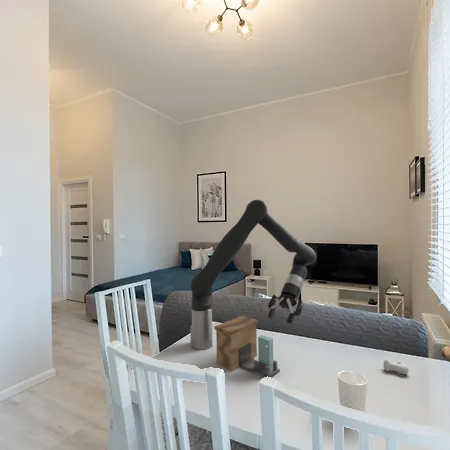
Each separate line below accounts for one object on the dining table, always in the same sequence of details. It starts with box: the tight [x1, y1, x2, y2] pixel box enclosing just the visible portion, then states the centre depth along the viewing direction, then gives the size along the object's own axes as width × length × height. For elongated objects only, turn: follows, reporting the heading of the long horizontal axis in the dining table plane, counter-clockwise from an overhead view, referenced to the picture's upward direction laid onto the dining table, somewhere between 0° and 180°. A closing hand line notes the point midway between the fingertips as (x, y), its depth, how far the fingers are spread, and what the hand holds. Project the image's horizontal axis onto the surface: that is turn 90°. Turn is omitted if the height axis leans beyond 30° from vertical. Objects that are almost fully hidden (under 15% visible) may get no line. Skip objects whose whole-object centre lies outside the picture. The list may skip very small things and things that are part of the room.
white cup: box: [337, 370, 368, 413], centre depth 84 cm, size 8×8×10 cm
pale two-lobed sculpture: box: [383, 358, 410, 375], centre depth 106 cm, size 4×8×5 cm
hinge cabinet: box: [214, 315, 281, 378], centre depth 112 cm, size 22×17×15 cm
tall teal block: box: [257, 334, 274, 373], centre depth 107 cm, size 5×3×12 cm
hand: (279, 320), depth 114 cm, fingers open, 8 cm apart
